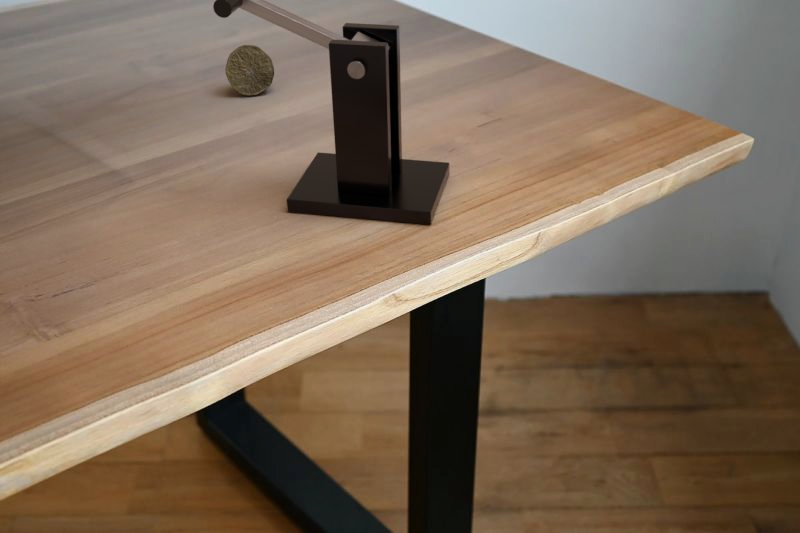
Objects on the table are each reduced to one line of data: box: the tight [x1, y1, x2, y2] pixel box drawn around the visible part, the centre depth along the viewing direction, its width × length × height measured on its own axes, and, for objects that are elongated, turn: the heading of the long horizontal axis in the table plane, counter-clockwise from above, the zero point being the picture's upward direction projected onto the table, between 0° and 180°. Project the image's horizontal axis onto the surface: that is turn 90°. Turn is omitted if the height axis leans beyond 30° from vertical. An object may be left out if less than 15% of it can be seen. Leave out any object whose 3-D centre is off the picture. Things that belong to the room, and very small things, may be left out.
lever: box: [212, 0, 390, 51], centre depth 71 cm, size 13×6×2 cm, turn 78°
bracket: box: [286, 22, 450, 226], centre depth 74 cm, size 12×9×14 cm
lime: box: [224, 44, 275, 96], centre depth 96 cm, size 4×5×5 cm
